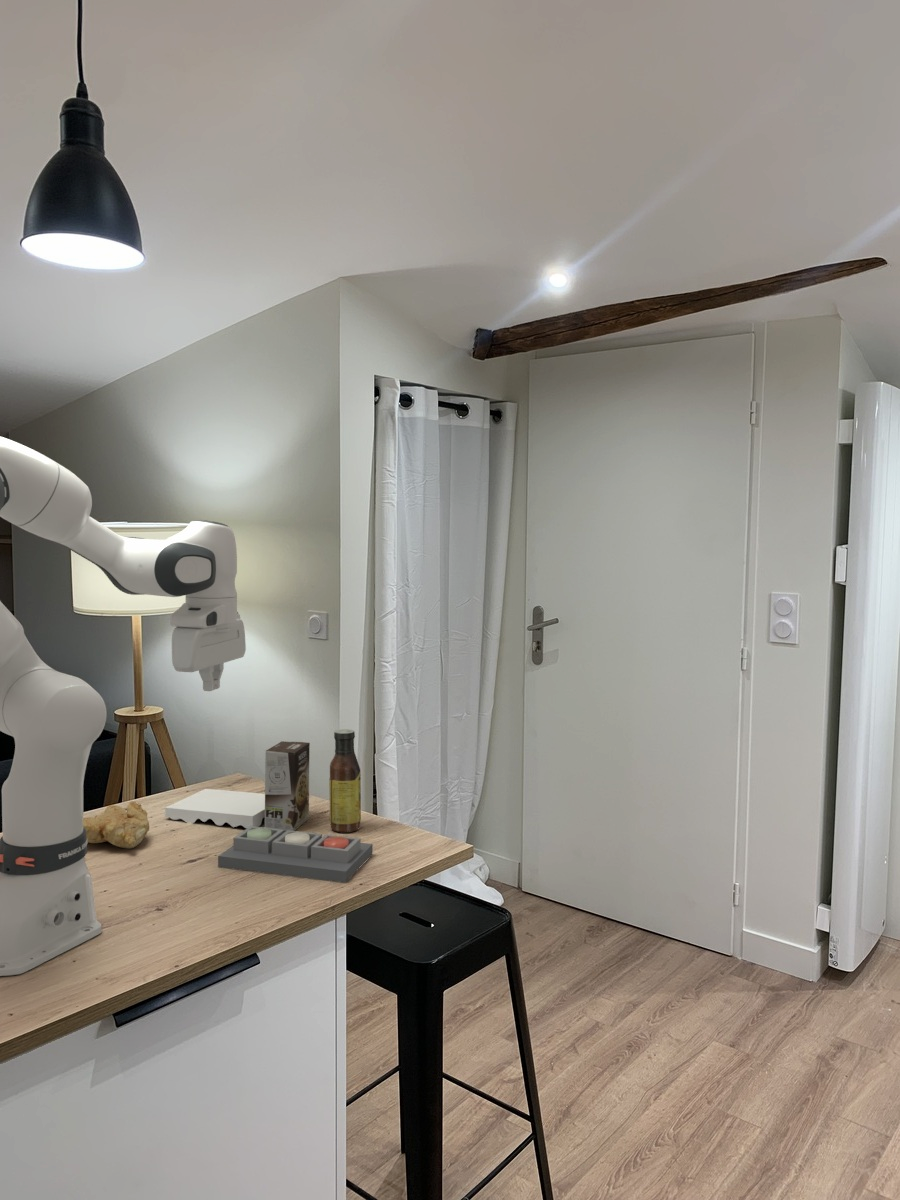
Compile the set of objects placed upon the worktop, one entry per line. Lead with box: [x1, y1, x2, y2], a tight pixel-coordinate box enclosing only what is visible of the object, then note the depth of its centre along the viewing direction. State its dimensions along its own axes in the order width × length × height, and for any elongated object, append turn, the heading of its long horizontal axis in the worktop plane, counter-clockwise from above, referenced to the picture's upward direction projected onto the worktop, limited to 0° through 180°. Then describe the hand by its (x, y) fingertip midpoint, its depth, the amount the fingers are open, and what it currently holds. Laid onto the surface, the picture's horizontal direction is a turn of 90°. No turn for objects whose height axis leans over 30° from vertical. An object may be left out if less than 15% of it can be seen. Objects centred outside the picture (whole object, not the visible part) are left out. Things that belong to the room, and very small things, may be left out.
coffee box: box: [264, 741, 311, 832], centre depth 186 cm, size 9×6×16 cm
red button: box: [324, 837, 349, 849], centre depth 165 cm, size 4×4×2 cm
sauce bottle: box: [328, 728, 362, 834], centre depth 184 cm, size 6×6×20 cm
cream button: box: [285, 831, 310, 844], centre depth 167 cm, size 4×4×2 cm
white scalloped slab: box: [164, 788, 265, 829], centre depth 192 cm, size 15×3×20 cm
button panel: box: [217, 826, 373, 884], centre depth 167 cm, size 14×24×4 cm, turn 76°
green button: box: [247, 828, 271, 840], centre depth 168 cm, size 4×4×2 cm
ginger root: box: [83, 801, 150, 849], centre depth 174 cm, size 16×16×8 cm
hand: (211, 689), depth 164 cm, fingers closed
